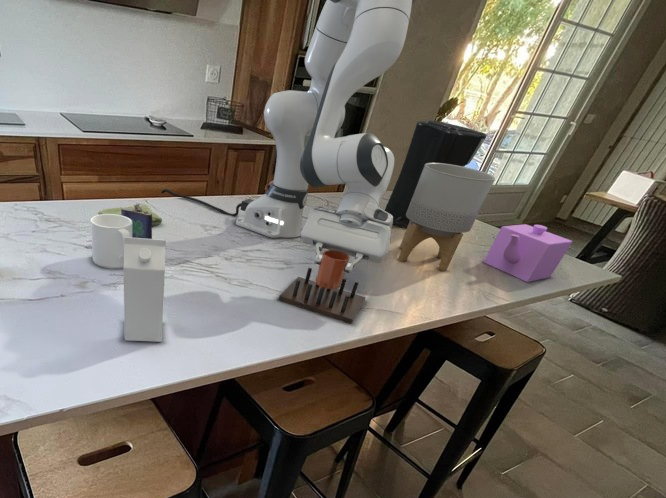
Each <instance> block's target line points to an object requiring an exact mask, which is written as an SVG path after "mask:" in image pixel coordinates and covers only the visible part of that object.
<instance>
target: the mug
mask: <svg viewBox="0 0 666 498" xmlns="http://www.w3.org/2000/svg"><path fill="white" fill-rule="evenodd" d="M89 221H90V237H91V252H92V253H91V254H92V262H93V263H94V264H95V265H96V266H98V267H100V268H104V269H109V270H110V269H111V270H115V269H116V270H117V269H123V265H124V237H131V238H132V220H131V219H130V218H128V217H125V216H122V215H116V214H101V215H99V214H96V215H94V216H92V217H91V218H90V220H89Z"/></svg>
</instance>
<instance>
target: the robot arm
mask: <svg viewBox="0 0 666 498" xmlns="http://www.w3.org/2000/svg"><path fill="white" fill-rule="evenodd" d="M415 1H416V0H326V1H325V3H324V5H323V7H322V10H321V12H320V14H319V17H318V20H317V22H316V25H315V28H314V31H313V33H312V36H311V39H310V42H309V44H308V48H307V49H306V50H307V51H306V53H305V56H304V67H305V69H306V72H307V73H308V75H309V76H310V78H311V82H310V85H309V89H308V90H307V91H301V90H294V89H293V90H292V89H291V90H290V89H287V90H283V91H278V92H275V93H272V95H270V97H269V98H268V100H267V102H266V103H265V106H264V110H263V120H264V124H265V126H266V128H267V130H268V131H269V133H270V134H271V135H272V138H273V140H274V143H275V149H276V160H275V161H276V162H275V169H274V175H273V180H271V181H270V182H269V183H267V184H266V185H264V187H265V188H264V190H265V193H264V194H262V195H261V196H259V197H257V198H256V199H251V198H248V199H244V200H242V201H241V202H240V203H238V204H237V205H236V207H235V212H234V213H230V212H227V211H225V210H224V209H222V208H219V207H217V206H215V205H212V204H210V203H209V202H205V201H203V200H201V199H198V198H195V197H192V196H188V195H185V194H180V193H176V192H173V191H172V190H170V189H168V188H164V189H162V190H160V194H164V193H168V194H170V195H172V196H173V197H177V198H181V199H185V200H189V201H193V202H196V203H199V204H201V205H204V206H206V207H207V208H210V209H212V210H214V211H217V212H219V213H221V214H223V215H227V216H231V217H237V216H238V215H239V211H243V212H244V213H243V214H242V215H240V216H238V217H237V218H236V221H235V225H236V226H238V227H241V228H244V229H247V230H249V231H252V232H255V233H258V234H261V235H263V236H265V237H268V238H272V239H277V238H285V239H286V238H287V239H288V238H291V239H292V238H297V237H300V239H301V241H302V243H303V244H305V245H309V246H314V247H315V253H316V256H315V258H314V262H313V263H314V264H315V265H319V266H320V263H321V259H322V256H323V254H321V252H323V249H324V250H334V251H339V252H343V253H345V254H347V255H348V256H349V257H352V258H353V257H354V258H355V259H354V260H352V262H348V263H347V266H346V267H345V273H346V274H352V272H353V269H355V268H356V267H357V266H358V265H360V264H361V262H362V261H363V260H364V261H368V262H372V263H375V264H381V263H384V261H385V259H386V256H387V253H388V251H389V246H390V242H391V238H392V228H393V225H392V224H393V216H392V215H391V214H389V213H387V212H386V211H385V209H383V208H382V207H381V208H380V203H381V200H382V199H383V198H384V196H385V195H386V192H387V190H388V188H389V185H390V182H391V179H392V176H393V174H394V173H393V172H394V169H395V161H396V159H395V156H394V153H393V152H392V150H391V149H389V148H388V147H386V146H384V145H383V143H382V142H381V141H380V139H379V138H378V137H377V136H376V135H375V134H374V133H372V132H364V133H363V132H362V133H357V134H356V133H355V134H349V135H346V136H339V137H336V134H337V132H338V131H339V130H340V129H341V127H342V126H343V123H344V122H345V118H346V104H347V102H348V101H349V99H350V98H351V97H352V96H353V95H354V94H356V92H358V91H359V90H360V89H361V88H362V87H364V86H366V85H367V84H368V83H370V82H371V81H374V80H375V79H376V78H379V77H381V75H383V74H384V73H386V71H388V70H389V69H390V68H391V67H392V66H393V65H394V64H395V63H396V61H397V60H398V59H399V57H400V56H401V52H402V51H403V48H404V46H405V43H406V38H407V34H408V30H409V29H408V28H409V23H410V18H411V13H412V7H413V5H414V3H415ZM306 137H307V138H308V139H307V142H306V144H305V138H306ZM333 185H334V186H335V185H346V187H347V190H346V192H345V193H344V194H343V195H342V197H341V200H340V202H339V204H338V207H337V208H336V209H332V208H325V207H324V206H317V207H314V208H312V209H310V211H309V213H308V215H307V220H306V222H305V223H304V225H303V214H304V208H305V206H306V204H307V200H308V195H309V194H308V193H309V186H310V187H312V188H313V189H318V188H324V187H328V186H333Z"/></svg>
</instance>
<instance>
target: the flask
mask: <svg viewBox="0 0 666 498" xmlns="http://www.w3.org/2000/svg"><path fill="white" fill-rule="evenodd" d="M140 205H141V203H136V204H133V207H135V209H131V208H123V207H122V209H121V215H122V216H125V217H128V218H130V219H131V220H132V238H145V239H153V226H152V214H151V213H149V212H148V211H146V210H145V211H144V210H142V208H140V207H139V206H140Z"/></svg>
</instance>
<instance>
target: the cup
mask: <svg viewBox="0 0 666 498" xmlns="http://www.w3.org/2000/svg"><path fill="white" fill-rule="evenodd" d="M322 255H323V256H322V259H321V263H320V265H319V267H318V270H317V274H316V277H315V282H316V284H317V285H319V286H320V287H324V288H326V289H332V290H334V289H340V286H341V283H342V280H343V278H345V277H344V276H345V273H346V272H345V267H346V266H347V263H349V261H350V256H349V255H347V254H345V253H343V252H339V251H334V250H328V249H326V250H324V251H322Z"/></svg>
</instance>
